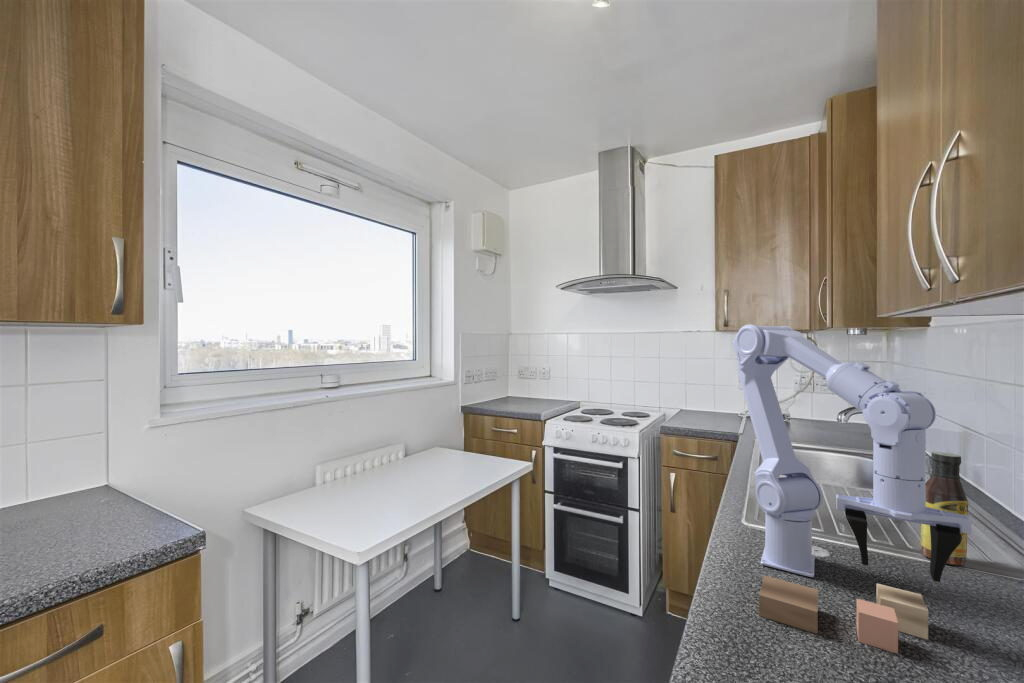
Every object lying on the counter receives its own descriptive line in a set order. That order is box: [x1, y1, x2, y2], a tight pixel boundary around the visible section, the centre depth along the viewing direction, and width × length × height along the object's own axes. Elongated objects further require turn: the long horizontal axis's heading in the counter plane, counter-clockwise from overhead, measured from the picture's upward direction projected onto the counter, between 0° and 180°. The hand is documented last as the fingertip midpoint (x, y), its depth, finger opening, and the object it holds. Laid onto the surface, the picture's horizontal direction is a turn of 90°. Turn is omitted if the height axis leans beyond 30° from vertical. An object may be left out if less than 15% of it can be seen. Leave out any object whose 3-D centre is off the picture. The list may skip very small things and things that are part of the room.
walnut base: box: [758, 575, 819, 635], centre depth 65 cm, size 7×7×3 cm
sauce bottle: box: [919, 451, 969, 566], centre depth 83 cm, size 7×6×20 cm
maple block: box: [875, 583, 929, 641], centre depth 63 cm, size 5×5×4 cm
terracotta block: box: [855, 598, 899, 654], centre depth 60 cm, size 4×4×4 cm
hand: (898, 570), depth 64 cm, fingers open, 7 cm apart
